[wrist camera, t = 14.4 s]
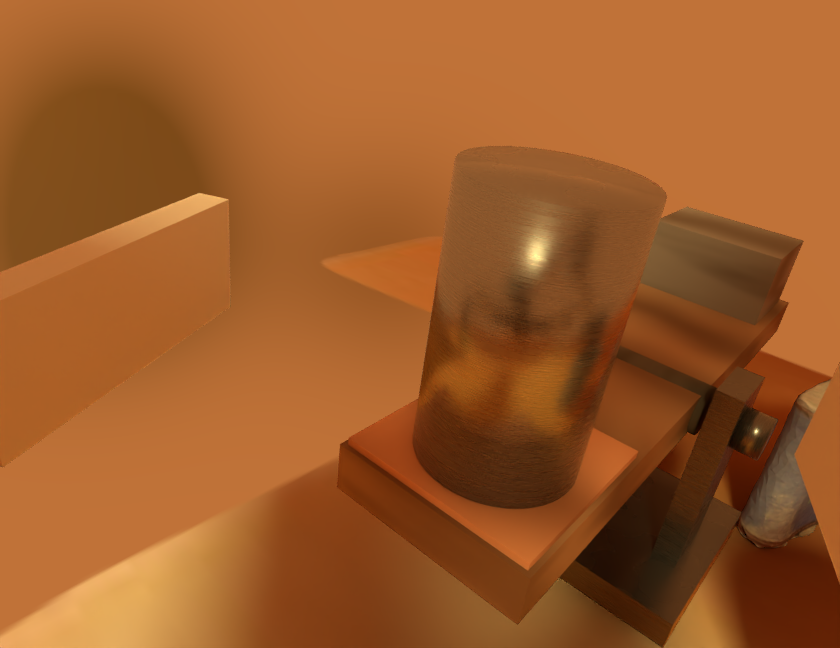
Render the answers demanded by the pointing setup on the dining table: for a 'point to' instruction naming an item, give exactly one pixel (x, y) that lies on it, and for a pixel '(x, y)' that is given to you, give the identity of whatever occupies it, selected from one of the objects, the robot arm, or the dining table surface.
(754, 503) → the flask
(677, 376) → the beam
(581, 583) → the beam stand
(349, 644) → the dining table surface
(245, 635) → the dining table surface
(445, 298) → the glass jar
